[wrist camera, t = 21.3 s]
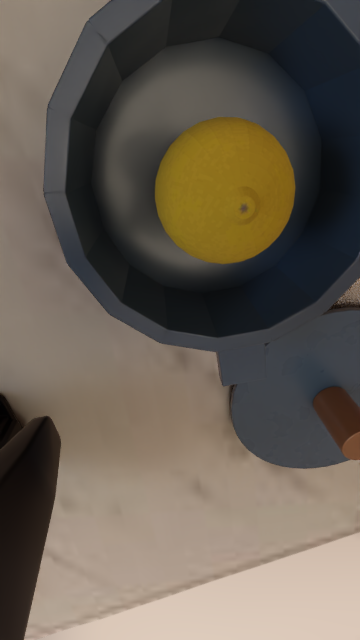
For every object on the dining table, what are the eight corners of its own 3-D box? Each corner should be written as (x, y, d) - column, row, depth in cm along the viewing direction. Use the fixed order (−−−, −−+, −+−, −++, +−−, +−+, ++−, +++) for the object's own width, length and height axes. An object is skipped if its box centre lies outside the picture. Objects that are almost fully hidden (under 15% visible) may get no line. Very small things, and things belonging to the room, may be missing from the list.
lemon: (168, 110, 16) (183, 72, 8) (274, 145, 17) (365, 138, 9) (143, 224, 18) (138, 270, 11) (237, 249, 19) (289, 306, 12)
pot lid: (236, 471, 28) (254, 534, 23) (218, 325, 22) (236, 372, 17) (403, 440, 28) (453, 498, 23) (436, 284, 21) (516, 321, 17)
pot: (126, 353, 22) (118, 415, 17) (14, -33, 13) (-76, -156, 8) (324, 316, 22) (379, 367, 17) (343, -96, 13) (469, -261, 8)
